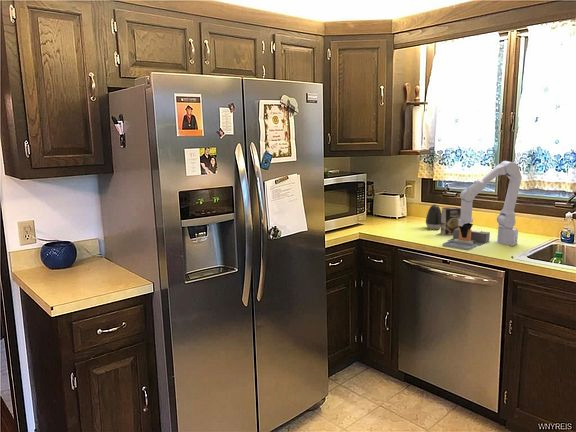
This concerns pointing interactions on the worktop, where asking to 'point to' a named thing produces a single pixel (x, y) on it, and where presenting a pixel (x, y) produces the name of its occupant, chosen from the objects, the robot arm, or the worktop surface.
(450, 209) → the coffee box
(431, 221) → the dark grey egg shape
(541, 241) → the worktop surface
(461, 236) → the end ticket
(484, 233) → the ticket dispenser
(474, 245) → the collection tray
